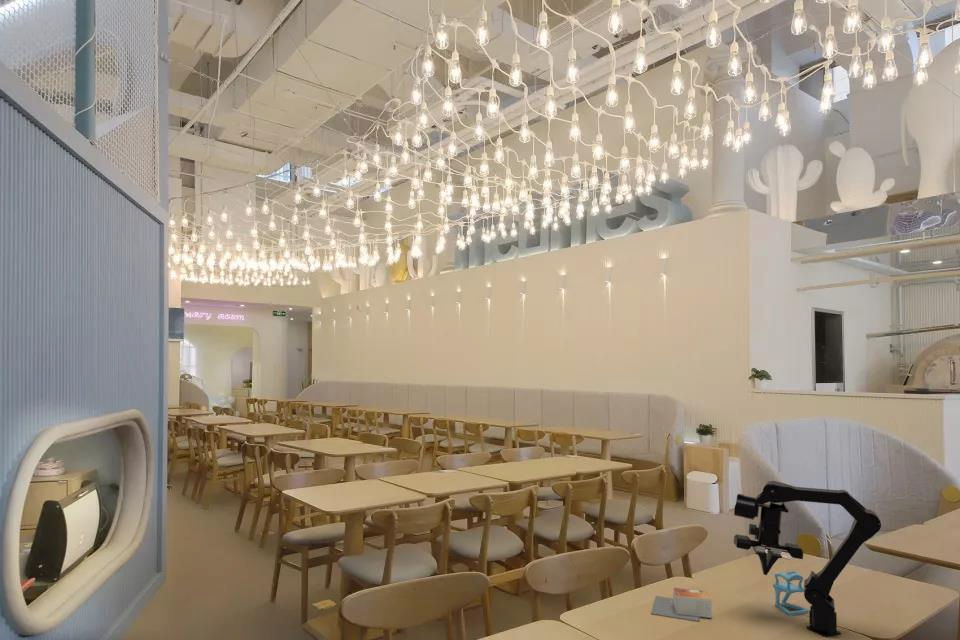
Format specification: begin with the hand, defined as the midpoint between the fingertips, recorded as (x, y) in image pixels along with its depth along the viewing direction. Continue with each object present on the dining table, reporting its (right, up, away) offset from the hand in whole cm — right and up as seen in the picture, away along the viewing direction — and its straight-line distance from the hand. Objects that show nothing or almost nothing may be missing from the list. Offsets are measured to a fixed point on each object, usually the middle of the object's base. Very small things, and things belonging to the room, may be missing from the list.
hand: (764, 574), depth 189 cm
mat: (-25, -13, +6) cm, 29 cm away
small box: (-16, -10, +3) cm, 19 cm away
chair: (+11, -15, +8) cm, 20 cm away
